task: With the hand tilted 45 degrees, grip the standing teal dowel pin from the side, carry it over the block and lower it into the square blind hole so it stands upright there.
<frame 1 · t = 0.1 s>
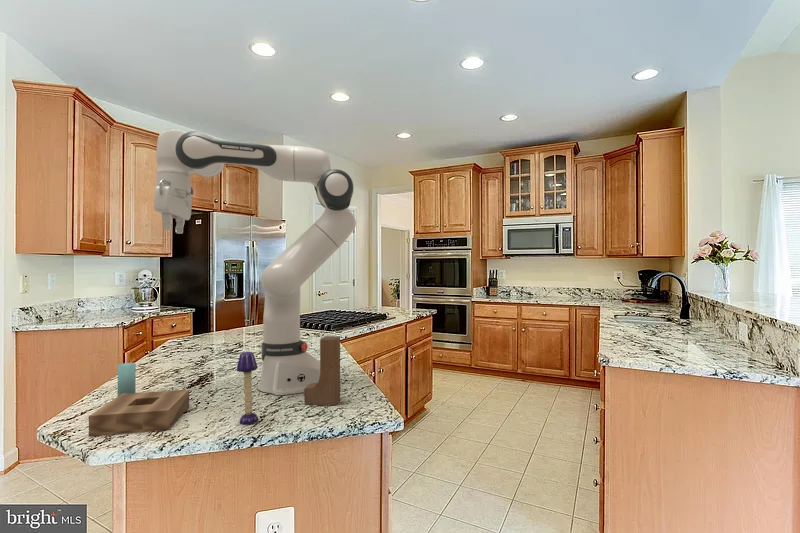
hand: (173, 231, 119), 48 cm above the counter, tool pointing down, fingers open, 8 cm apart
bore block: (143, 419, 98), on the counter
pin: (126, 404, 109), on the counter
wooden block: (322, 403, 110), on the counter
toy lamp: (247, 422, 96), on the counter
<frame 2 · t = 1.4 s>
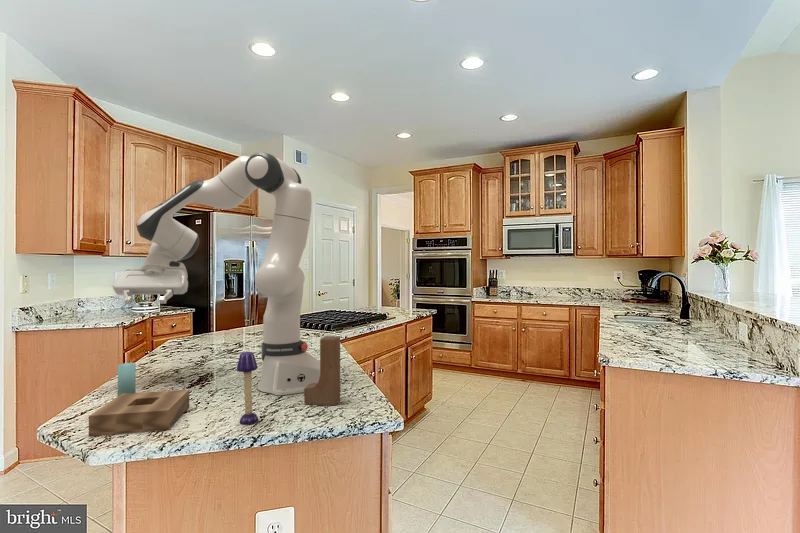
hand: (145, 302, 121), 27 cm above the counter, tool tilted 45°, fingers open, 8 cm apart
nothing on the counter moved.
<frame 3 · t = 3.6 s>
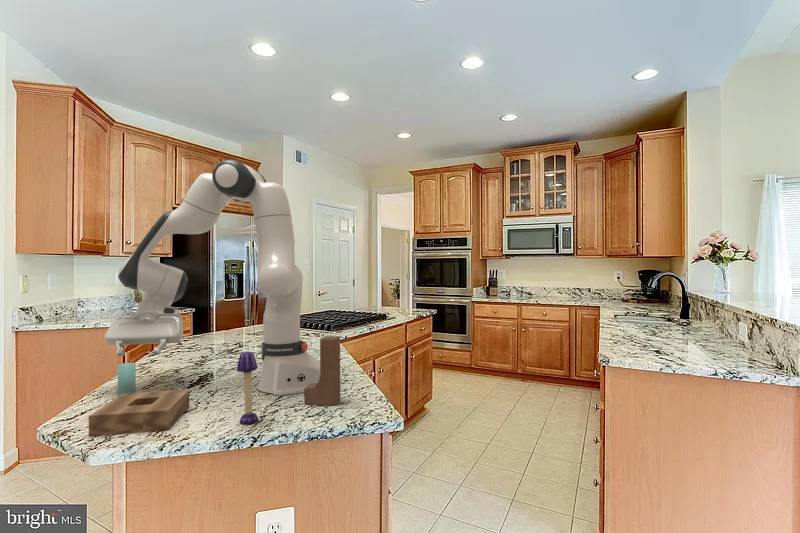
hand: (137, 354, 116), 12 cm above the counter, tool tilted 45°, fingers open, 8 cm apart
nothing on the counter moved.
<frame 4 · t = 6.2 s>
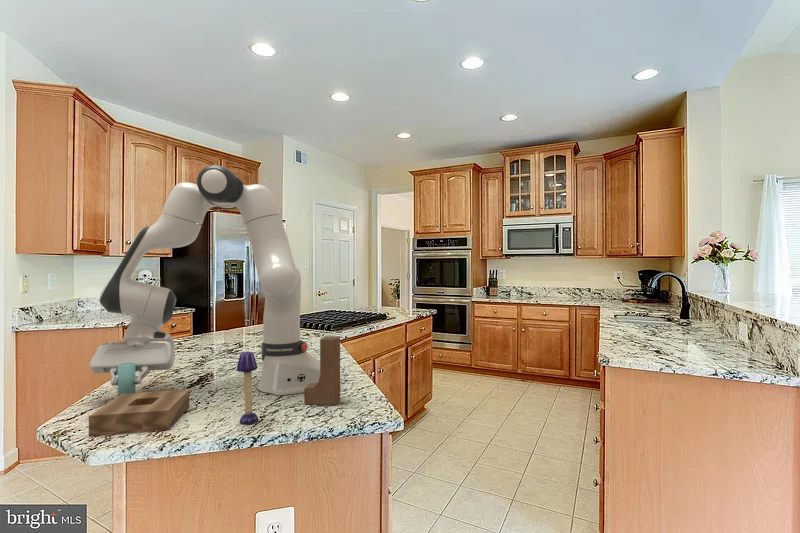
hand: (125, 383, 108), 6 cm above the counter, tool tilted 45°, fingers closed on pin, 4 cm apart
pin: (126, 404, 109), on the counter, touching gripper
everything else where it was.
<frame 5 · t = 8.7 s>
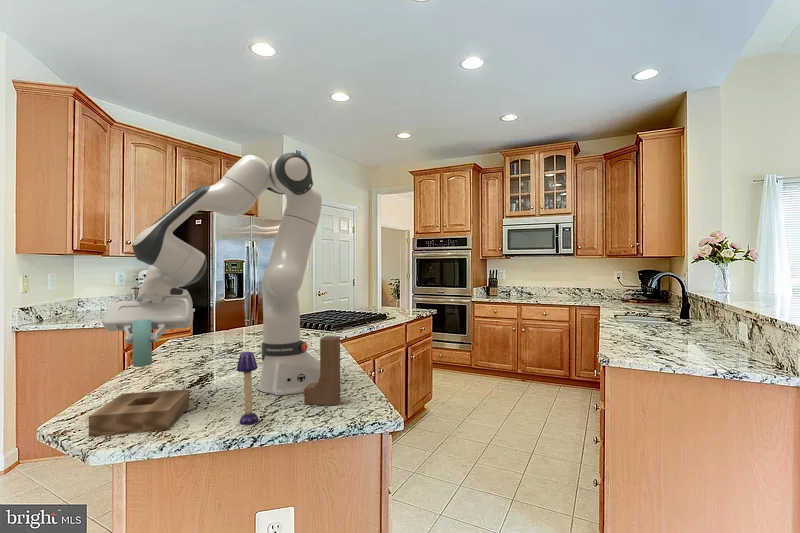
hand: (141, 341, 99), 19 cm above the counter, tool tilted 45°, fingers closed on pin, 4 cm apart
pin: (142, 364, 99), point 13 cm above the counter, touching gripper
everything else where it was.
when the fingers open (8 cm above the counter, at t = 11.4 s): pin drops 1 cm, resting on bore block.
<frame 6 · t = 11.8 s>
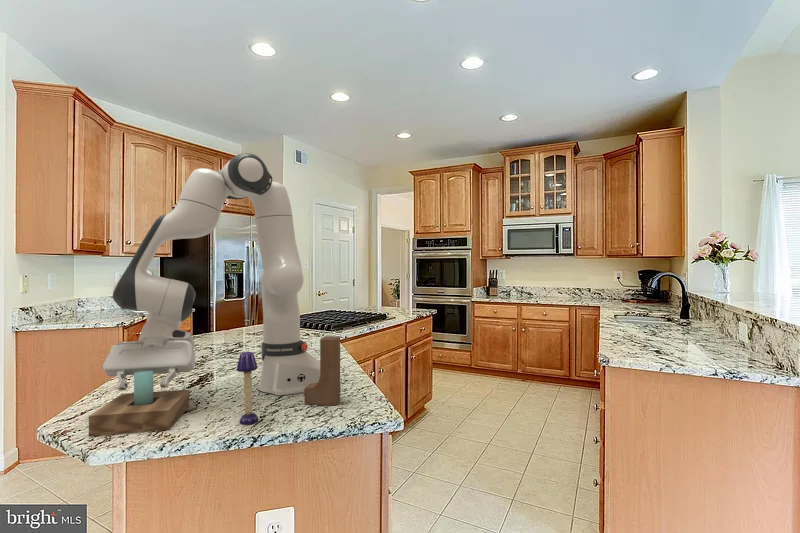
hand: (142, 388, 97), 8 cm above the counter, tool tilted 45°, fingers open, 8 cm apart
pin: (143, 417, 98), point 1 cm above the counter, touching bore block
everything else where it was.
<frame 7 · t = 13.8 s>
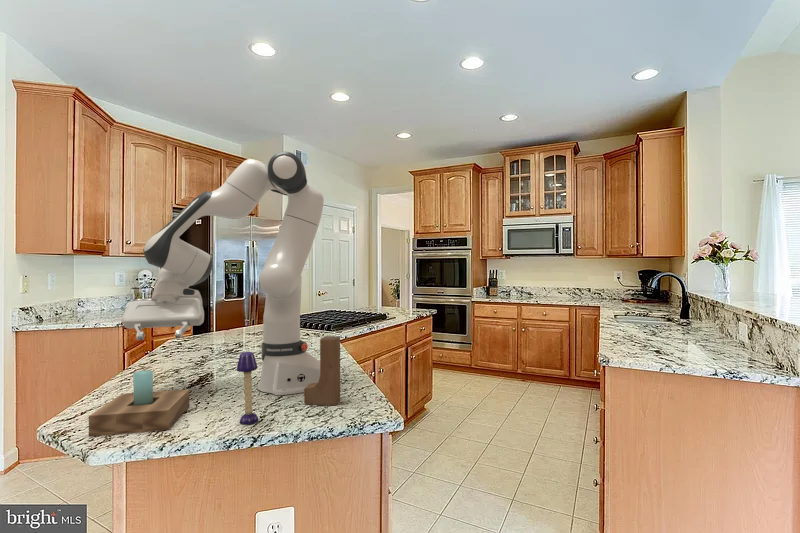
hand: (159, 338, 109), 18 cm above the counter, tool tilted 45°, fingers open, 8 cm apart
nothing on the counter moved.
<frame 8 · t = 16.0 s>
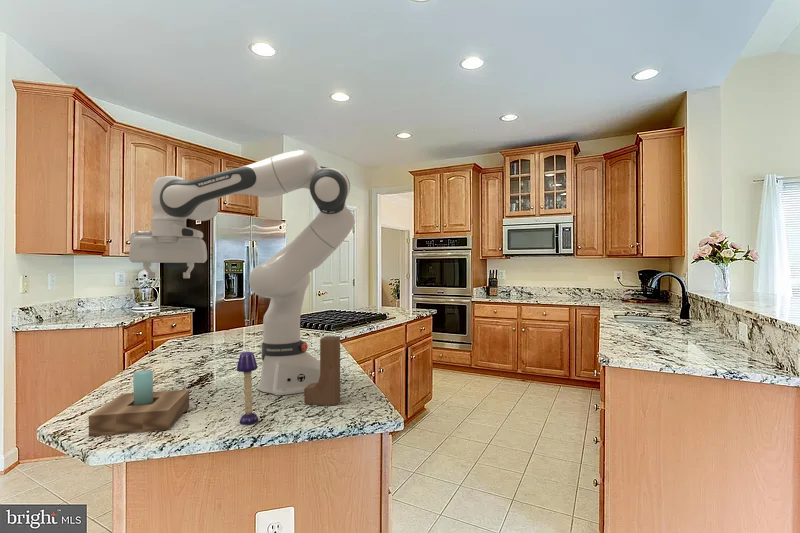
hand: (169, 278, 118), 34 cm above the counter, tool pointing down, fingers open, 8 cm apart
nothing on the counter moved.
at the end: pin 0.1 cm off-centre on the bore block, point 0.6 cm above the bore block's base; pin tilted 1°; the gripper is holding nothing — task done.
